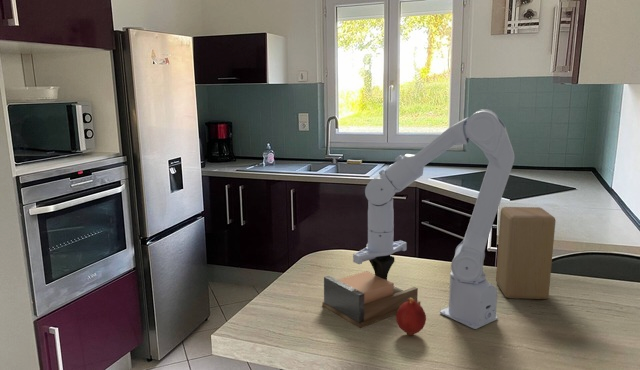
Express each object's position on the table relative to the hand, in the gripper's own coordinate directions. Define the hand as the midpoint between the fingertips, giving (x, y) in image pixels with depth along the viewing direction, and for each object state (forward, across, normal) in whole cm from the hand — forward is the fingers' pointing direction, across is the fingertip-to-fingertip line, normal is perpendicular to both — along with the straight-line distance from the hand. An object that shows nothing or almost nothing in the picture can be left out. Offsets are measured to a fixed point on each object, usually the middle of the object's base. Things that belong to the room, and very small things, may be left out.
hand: (380, 286), depth 113 cm
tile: (+1, +5, 0) cm, 5 cm away
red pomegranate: (+4, +6, +15) cm, 16 cm away
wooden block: (+5, -31, +16) cm, 35 cm away
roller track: (+4, +3, 0) cm, 5 cm away
